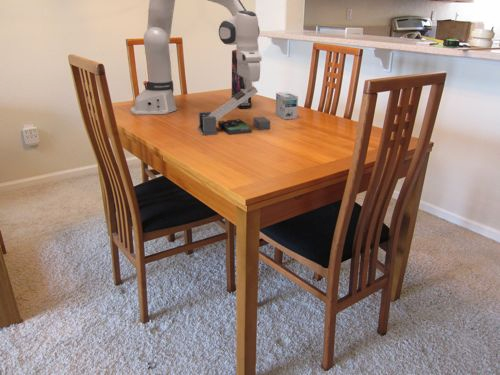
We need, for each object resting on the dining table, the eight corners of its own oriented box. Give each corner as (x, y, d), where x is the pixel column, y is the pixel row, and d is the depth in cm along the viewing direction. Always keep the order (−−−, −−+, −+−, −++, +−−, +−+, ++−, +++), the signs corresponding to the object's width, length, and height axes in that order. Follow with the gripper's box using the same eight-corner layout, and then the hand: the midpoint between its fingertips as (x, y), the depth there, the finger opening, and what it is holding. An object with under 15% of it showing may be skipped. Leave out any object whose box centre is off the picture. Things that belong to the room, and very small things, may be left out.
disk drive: (217, 127, 183) (228, 136, 170) (217, 120, 182) (228, 129, 169) (239, 124, 187) (252, 133, 174) (239, 118, 186) (252, 127, 173)
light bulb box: (297, 118, 195) (298, 95, 191) (284, 120, 193) (285, 96, 188) (287, 113, 204) (288, 91, 200) (274, 114, 202) (275, 92, 197)
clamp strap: (207, 126, 171) (204, 121, 170) (205, 122, 176) (201, 117, 175) (258, 92, 172) (255, 86, 170) (253, 89, 177) (250, 84, 176)
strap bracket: (203, 135, 169) (202, 118, 167) (198, 128, 179) (197, 112, 176) (271, 130, 178) (271, 113, 175) (262, 123, 187) (263, 107, 184)
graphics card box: (230, 102, 225) (230, 49, 214) (243, 101, 227) (243, 49, 216) (239, 109, 211) (239, 53, 199) (252, 108, 213) (253, 52, 201)
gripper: (233, 52, 175) (233, 85, 181) (247, 57, 158) (247, 94, 163) (247, 51, 177) (247, 84, 183) (263, 57, 159) (262, 93, 165)
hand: (247, 89), depth 173 cm, fingers closed, pressing on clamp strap
